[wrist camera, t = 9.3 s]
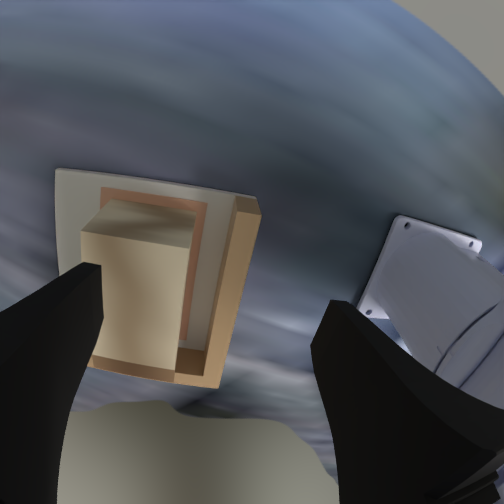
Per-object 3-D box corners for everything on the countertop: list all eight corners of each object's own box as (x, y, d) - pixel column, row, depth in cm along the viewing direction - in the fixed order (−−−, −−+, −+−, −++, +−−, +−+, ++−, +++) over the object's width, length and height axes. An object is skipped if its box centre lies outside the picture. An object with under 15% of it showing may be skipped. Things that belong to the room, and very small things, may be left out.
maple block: (197, 211, 17) (189, 248, 13) (180, 333, 21) (173, 382, 17) (111, 198, 16) (80, 230, 12) (111, 321, 20) (93, 367, 16)
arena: (255, 196, 18) (261, 215, 15) (217, 358, 23) (218, 388, 21) (59, 167, 16) (33, 181, 13) (70, 332, 21) (58, 358, 19)
